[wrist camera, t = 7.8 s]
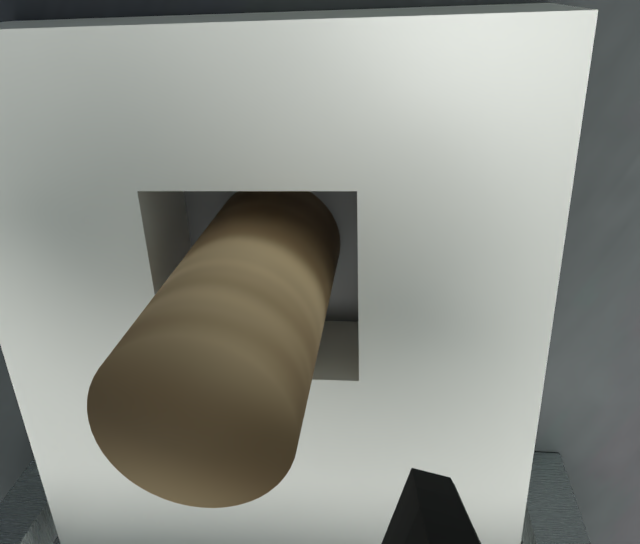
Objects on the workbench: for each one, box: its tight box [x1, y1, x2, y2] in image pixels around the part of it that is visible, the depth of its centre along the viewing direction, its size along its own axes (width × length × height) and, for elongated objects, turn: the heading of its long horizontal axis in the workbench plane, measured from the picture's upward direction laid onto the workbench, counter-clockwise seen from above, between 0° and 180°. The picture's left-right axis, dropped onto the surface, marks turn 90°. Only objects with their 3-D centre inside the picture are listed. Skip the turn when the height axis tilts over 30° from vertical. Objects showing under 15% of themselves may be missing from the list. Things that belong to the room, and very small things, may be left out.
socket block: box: [0, 3, 598, 544], centre depth 18 cm, size 20×14×4 cm
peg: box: [87, 191, 340, 508], centre depth 14 cm, size 4×4×8 cm
